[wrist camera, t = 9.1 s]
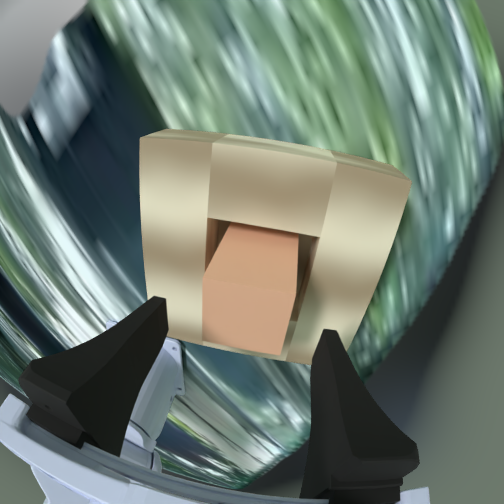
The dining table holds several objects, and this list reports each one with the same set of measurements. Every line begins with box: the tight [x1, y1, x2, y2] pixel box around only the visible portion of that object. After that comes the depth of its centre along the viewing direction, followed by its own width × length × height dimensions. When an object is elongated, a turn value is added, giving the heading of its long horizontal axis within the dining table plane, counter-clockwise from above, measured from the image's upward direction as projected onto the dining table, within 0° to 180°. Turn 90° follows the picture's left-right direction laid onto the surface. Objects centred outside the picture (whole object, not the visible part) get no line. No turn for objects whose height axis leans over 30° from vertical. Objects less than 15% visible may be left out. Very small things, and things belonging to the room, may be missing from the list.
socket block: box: [140, 129, 412, 365], centre depth 18 cm, size 14×14×4 cm
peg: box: [202, 222, 299, 355], centre depth 16 cm, size 4×4×7 cm
